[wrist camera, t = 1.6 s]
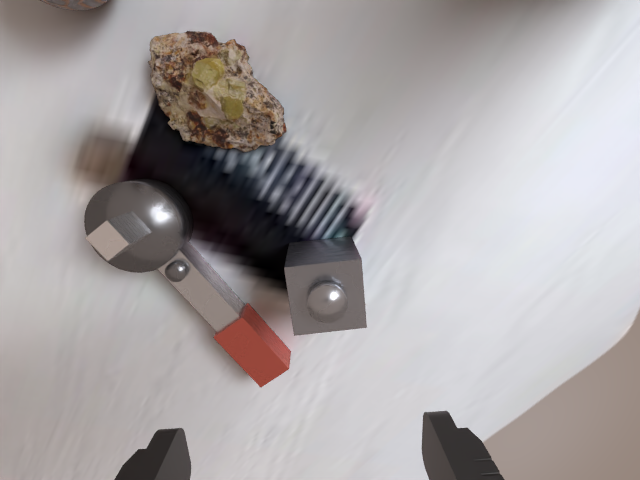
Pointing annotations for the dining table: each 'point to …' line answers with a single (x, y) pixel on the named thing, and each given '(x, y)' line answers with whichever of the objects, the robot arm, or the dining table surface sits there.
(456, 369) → the dining table surface
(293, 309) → the domed steel cube
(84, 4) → the vase
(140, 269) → the ratchet
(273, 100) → the mineral rock
